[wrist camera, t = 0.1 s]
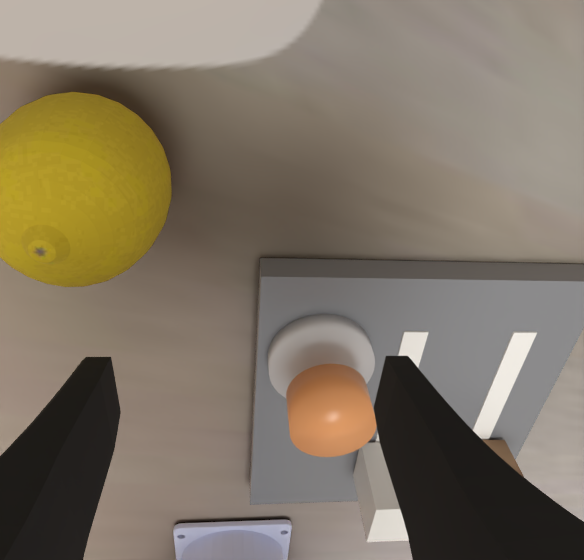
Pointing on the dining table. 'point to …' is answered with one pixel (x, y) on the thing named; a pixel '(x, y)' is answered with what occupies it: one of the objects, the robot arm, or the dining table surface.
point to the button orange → (329, 411)
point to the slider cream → (377, 497)
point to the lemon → (79, 189)
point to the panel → (406, 349)
